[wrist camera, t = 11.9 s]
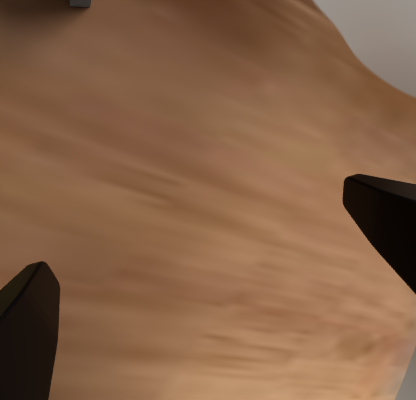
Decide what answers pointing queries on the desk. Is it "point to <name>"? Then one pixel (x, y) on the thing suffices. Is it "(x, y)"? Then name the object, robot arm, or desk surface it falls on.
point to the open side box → (80, 3)
